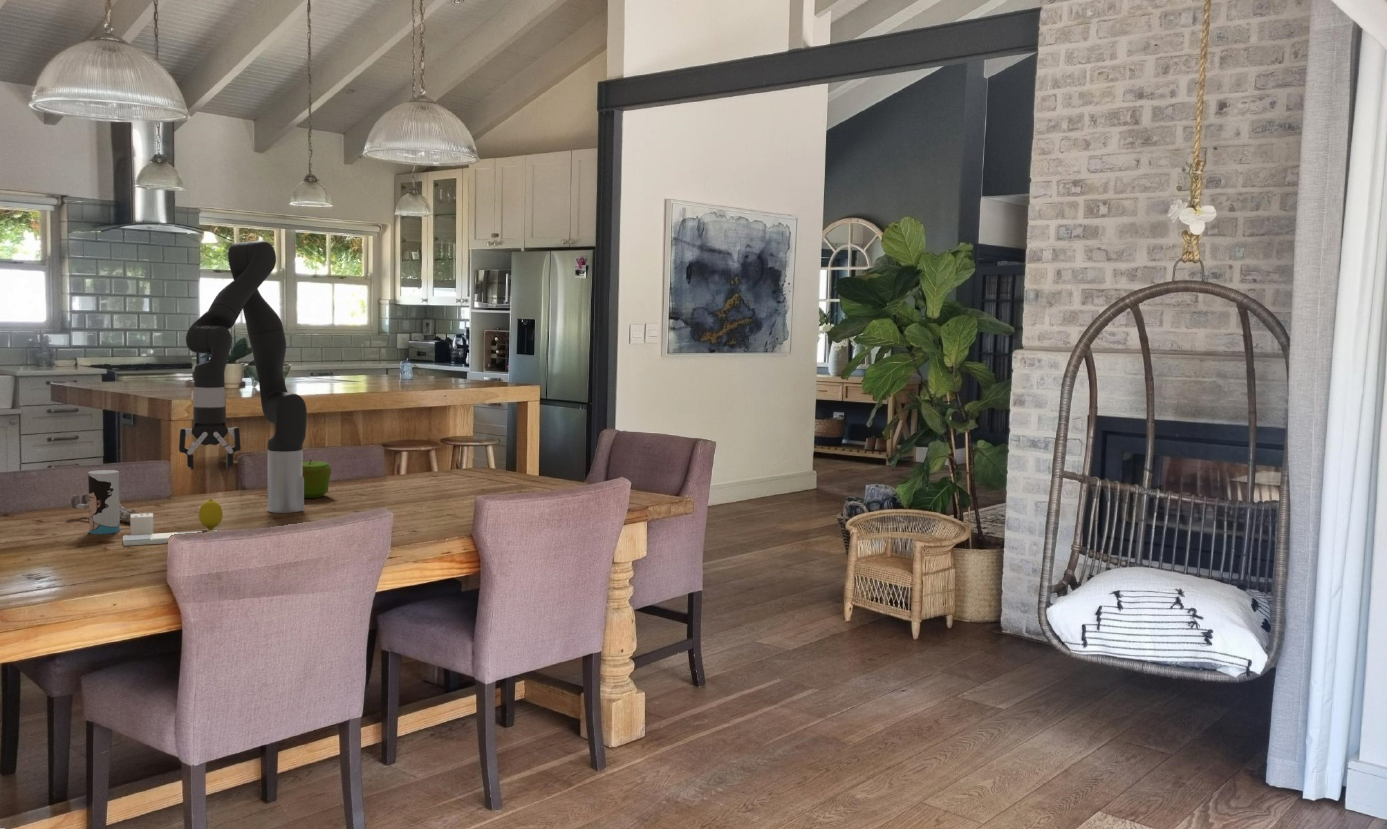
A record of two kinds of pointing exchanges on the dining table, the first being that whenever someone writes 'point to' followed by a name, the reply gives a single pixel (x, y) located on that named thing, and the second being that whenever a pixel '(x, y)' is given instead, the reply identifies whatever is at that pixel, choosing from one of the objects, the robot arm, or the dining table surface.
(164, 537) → the board
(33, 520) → the dining table surface
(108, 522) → the cup
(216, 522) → the lemon
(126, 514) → the figurine
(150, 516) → the off-white cube
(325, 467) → the apple
